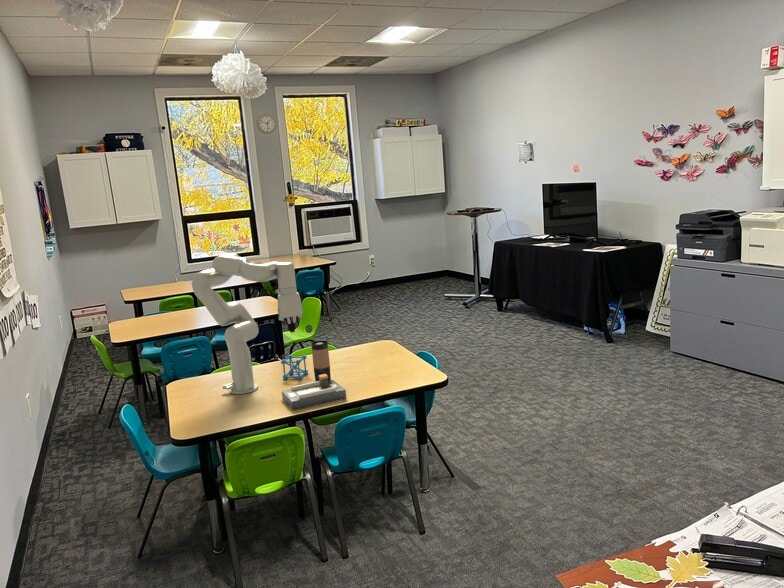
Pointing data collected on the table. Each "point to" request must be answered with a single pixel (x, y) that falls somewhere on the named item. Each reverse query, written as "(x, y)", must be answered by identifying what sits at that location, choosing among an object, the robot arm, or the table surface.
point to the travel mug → (321, 359)
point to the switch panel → (312, 394)
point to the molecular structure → (294, 367)
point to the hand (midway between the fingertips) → (292, 331)
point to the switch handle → (323, 381)
